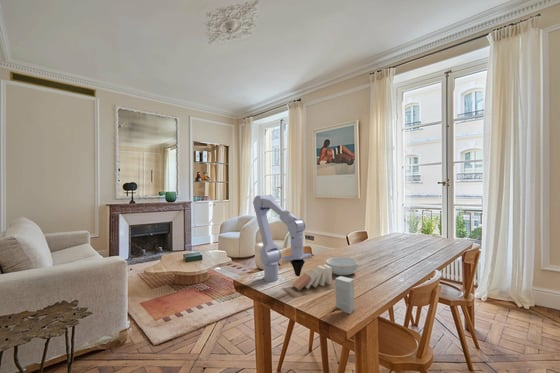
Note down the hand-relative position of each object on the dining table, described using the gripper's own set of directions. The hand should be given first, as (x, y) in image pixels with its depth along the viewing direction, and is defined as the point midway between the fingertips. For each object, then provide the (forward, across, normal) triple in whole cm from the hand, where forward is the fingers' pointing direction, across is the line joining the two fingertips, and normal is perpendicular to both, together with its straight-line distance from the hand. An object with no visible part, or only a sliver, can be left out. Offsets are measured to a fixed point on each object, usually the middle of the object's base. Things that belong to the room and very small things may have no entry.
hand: (297, 275), depth 116 cm
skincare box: (+7, +8, -24) cm, 26 cm away
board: (+7, +6, -2) cm, 10 cm away
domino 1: (+5, +3, 0) cm, 6 cm away
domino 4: (+6, +16, 0) cm, 18 cm away
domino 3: (+6, +12, 0) cm, 13 cm away
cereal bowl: (+7, +32, +9) cm, 34 cm away
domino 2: (+6, +8, 0) cm, 10 cm away
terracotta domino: (+5, -1, 0) cm, 5 cm away
